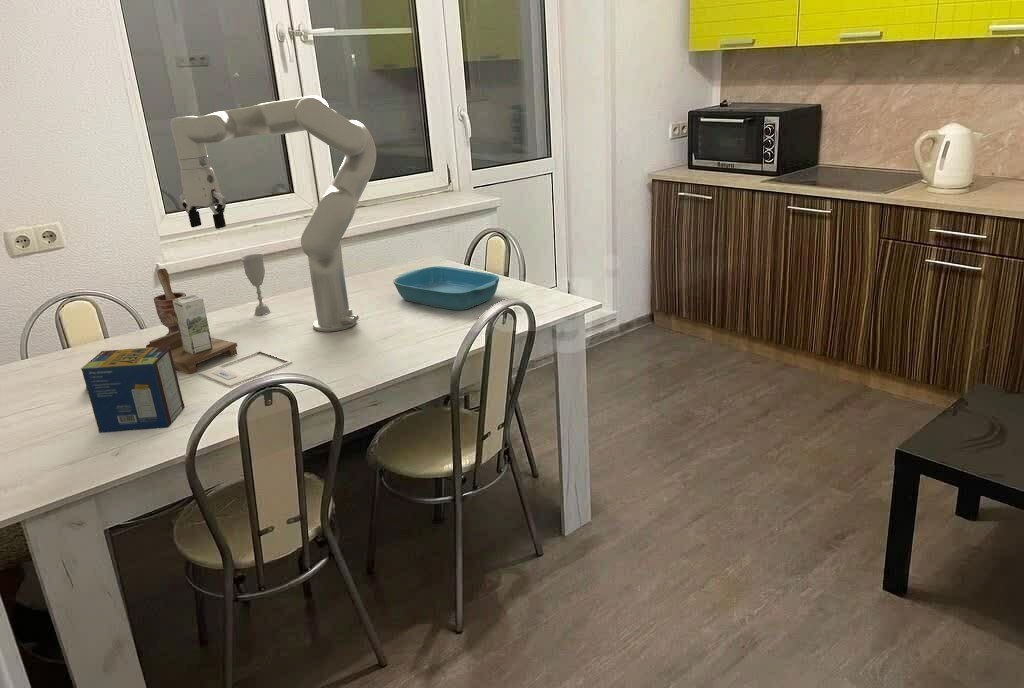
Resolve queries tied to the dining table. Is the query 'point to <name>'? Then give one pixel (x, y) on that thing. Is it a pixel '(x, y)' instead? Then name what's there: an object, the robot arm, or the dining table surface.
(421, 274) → the casserole dish
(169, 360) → the protein box
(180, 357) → the shelf
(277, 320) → the dining table surface
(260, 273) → the chalice
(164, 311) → the mortar and pestle
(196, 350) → the syrup box
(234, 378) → the photo frame
